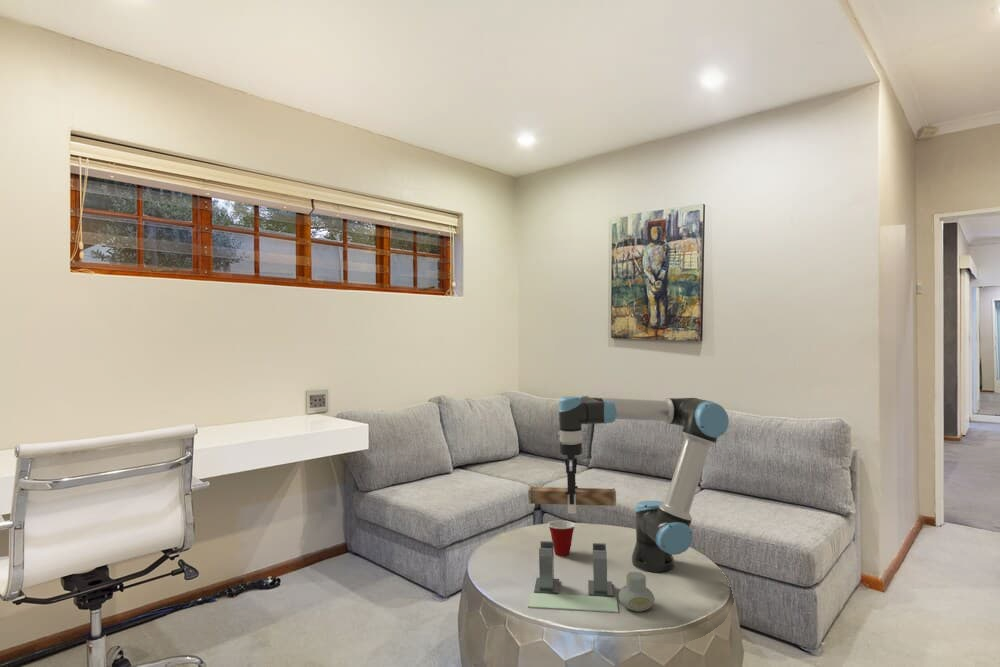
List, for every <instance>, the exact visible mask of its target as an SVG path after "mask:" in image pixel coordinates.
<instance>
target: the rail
mask: <svg viewBox="0 0 1000 667" xmlns="http://www.w3.org/2000/svg"><path fill="white" fill-rule="evenodd" d="M567 492H568V487H550V486H549V487H548V486H547V487H543V486H541V487H540V486H538V487H537V486H531V485H530V486H528V493H527V494H528V504H529V505H532V504H533V505H537V504H538V505H567V506H568V495H567V494H566V493H567ZM575 492H576V506H604V507H605V506H609V507H610V506H611V507H616V506H617V490H616V488H615V487H613V488H601V487H600V488H593V487H591V488H589V487H584V488H583V487H578V488H575Z"/></svg>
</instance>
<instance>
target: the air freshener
mask: <svg viewBox="0 0 1000 667" xmlns="http://www.w3.org/2000/svg"><path fill="white" fill-rule="evenodd" d="M618 598H619V601H620V604H622V606H624V607H625V608H627V609H628V610H630V611H634V612H639V613H640V612H642V611H647V610H649V609H650V608H652V607H653V605H654V603H655V595H654V594H653V591H652V590H650V589H649V587H647V582H646V575H645V574H644V573H642V572H641V571H630V572H628V573H627V574H626V585H625V586H623V587H622V588H621V589H620V590H619V592H618Z"/></svg>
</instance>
